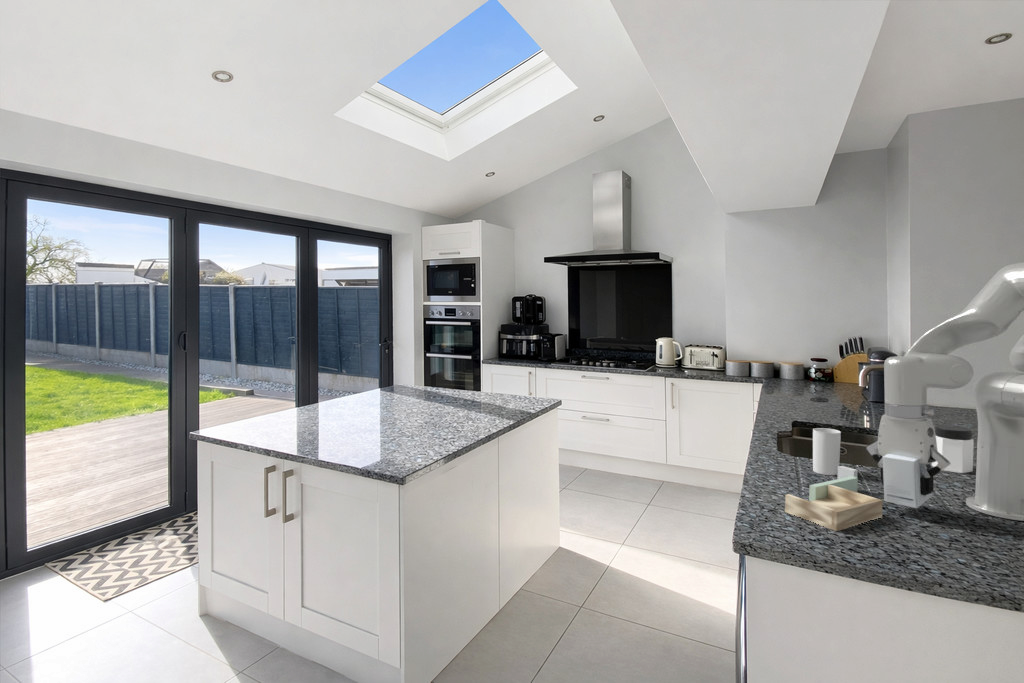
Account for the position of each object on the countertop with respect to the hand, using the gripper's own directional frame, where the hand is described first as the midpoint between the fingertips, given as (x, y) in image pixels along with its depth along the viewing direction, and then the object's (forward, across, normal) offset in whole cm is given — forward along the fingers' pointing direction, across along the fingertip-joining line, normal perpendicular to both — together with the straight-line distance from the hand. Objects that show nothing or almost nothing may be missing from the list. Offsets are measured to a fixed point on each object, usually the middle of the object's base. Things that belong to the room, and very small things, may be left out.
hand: (906, 488), depth 114 cm
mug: (+6, +27, -14) cm, 30 cm away
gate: (+4, +14, +5) cm, 16 cm away
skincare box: (+3, 0, 0) cm, 3 cm away
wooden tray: (+4, +7, +17) cm, 19 cm away
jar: (+7, +13, -48) cm, 50 cm away
